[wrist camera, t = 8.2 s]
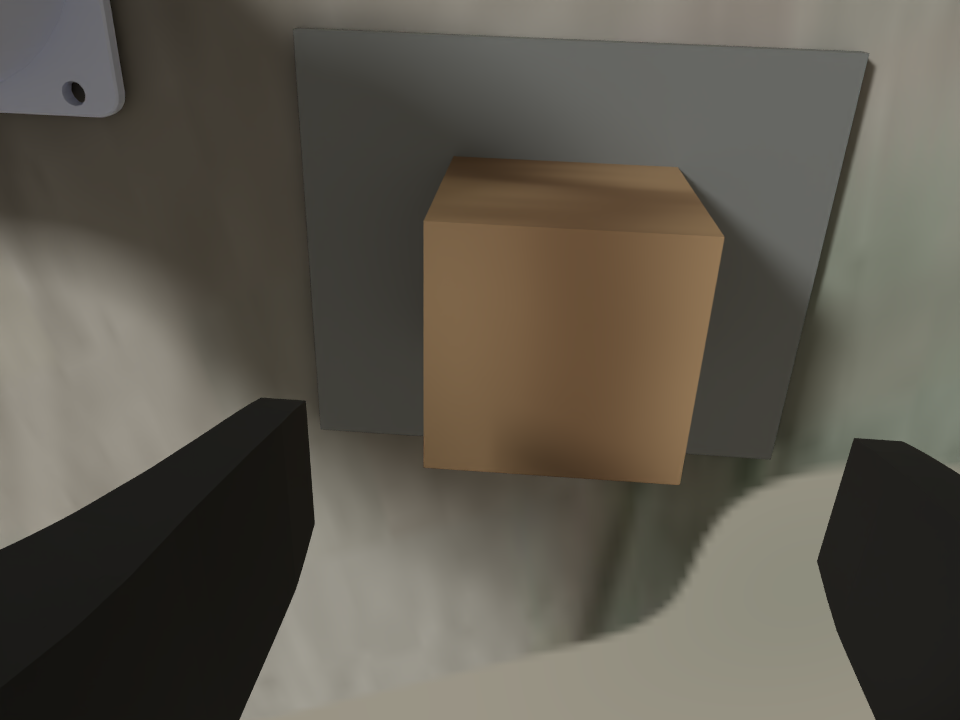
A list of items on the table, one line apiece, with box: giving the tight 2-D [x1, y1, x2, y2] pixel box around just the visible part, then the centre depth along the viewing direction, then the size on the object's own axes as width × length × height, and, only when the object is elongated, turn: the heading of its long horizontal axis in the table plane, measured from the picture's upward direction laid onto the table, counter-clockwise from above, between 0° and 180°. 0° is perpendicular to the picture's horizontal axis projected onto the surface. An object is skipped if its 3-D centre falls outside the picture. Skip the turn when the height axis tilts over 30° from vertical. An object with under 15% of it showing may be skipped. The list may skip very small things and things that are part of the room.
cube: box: [424, 156, 725, 485], centre depth 16 cm, size 5×5×5 cm
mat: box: [293, 28, 869, 459], centre depth 19 cm, size 12×10×1 cm
